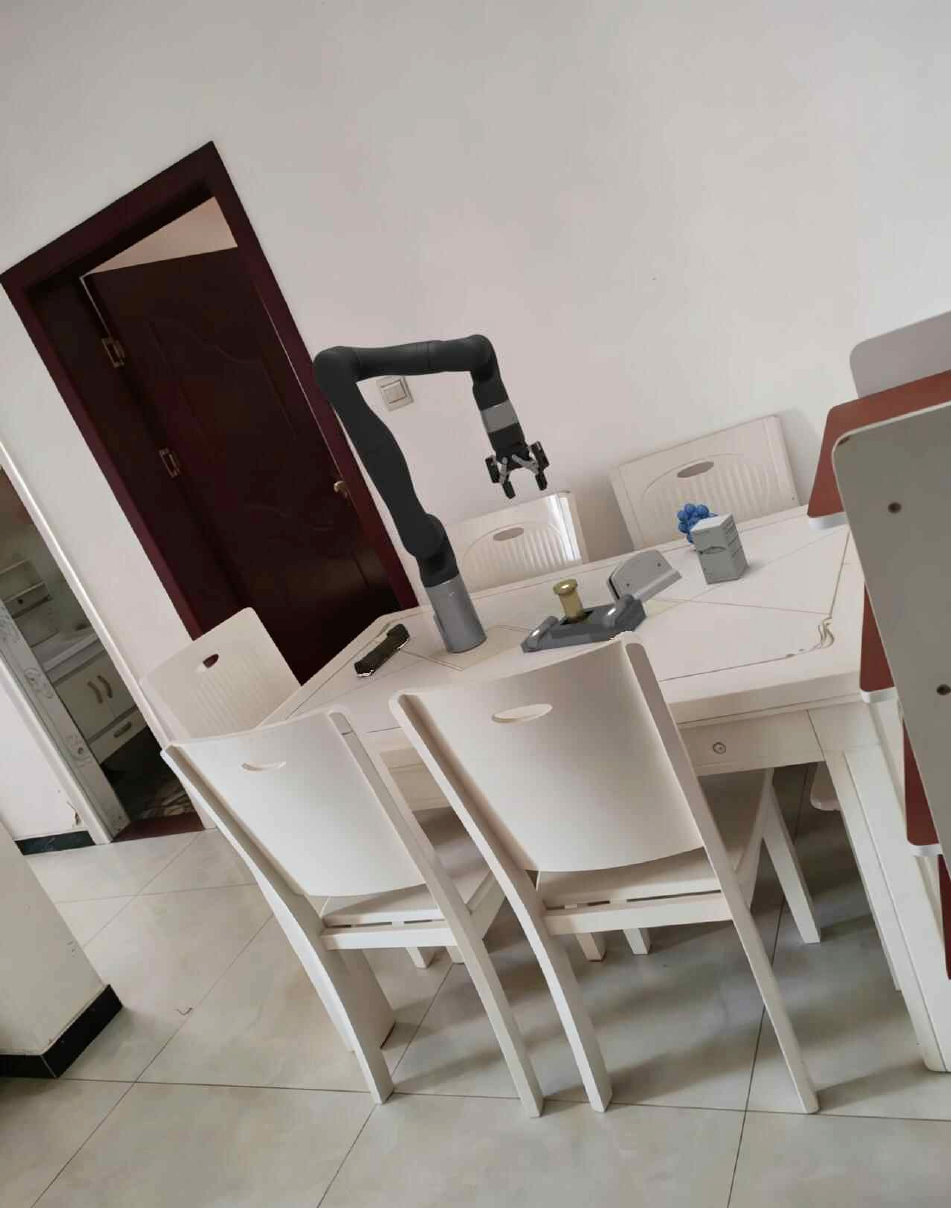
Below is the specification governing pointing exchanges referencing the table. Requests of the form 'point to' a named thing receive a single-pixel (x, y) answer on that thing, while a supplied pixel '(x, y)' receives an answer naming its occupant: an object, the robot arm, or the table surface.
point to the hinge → (642, 576)
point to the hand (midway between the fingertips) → (528, 493)
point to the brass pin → (570, 601)
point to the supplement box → (719, 548)
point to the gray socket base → (587, 625)
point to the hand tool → (383, 649)
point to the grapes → (692, 518)
